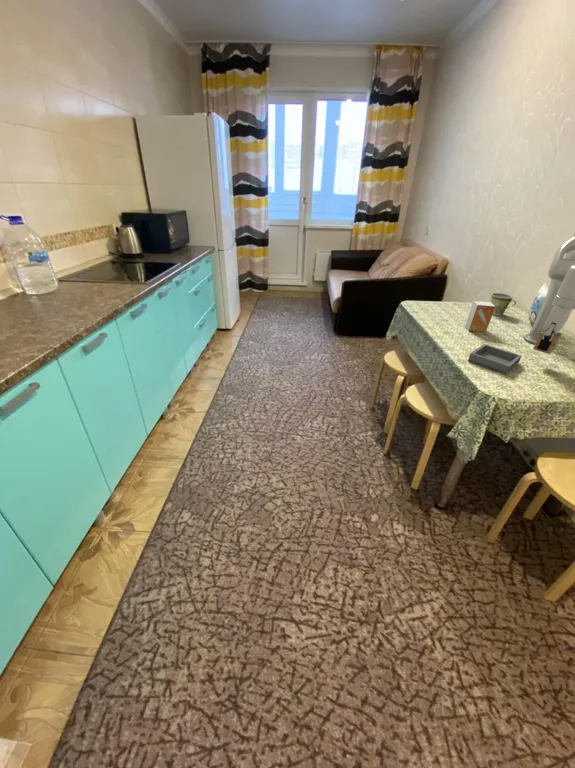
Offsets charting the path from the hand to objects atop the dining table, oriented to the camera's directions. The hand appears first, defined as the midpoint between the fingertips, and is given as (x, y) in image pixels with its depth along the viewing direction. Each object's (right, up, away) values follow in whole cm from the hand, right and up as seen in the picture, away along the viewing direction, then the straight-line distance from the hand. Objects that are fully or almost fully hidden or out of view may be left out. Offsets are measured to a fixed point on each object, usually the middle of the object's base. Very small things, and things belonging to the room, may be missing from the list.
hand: (544, 346), depth 126 cm
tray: (-18, -6, +4) cm, 19 cm away
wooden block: (0, -1, +1) cm, 1 cm away
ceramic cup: (+17, +24, +54) cm, 61 cm away
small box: (-8, +12, +34) cm, 36 cm away
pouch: (+24, +14, +38) cm, 48 cm away
